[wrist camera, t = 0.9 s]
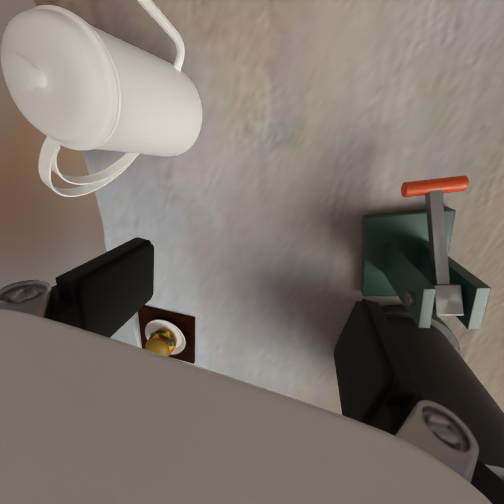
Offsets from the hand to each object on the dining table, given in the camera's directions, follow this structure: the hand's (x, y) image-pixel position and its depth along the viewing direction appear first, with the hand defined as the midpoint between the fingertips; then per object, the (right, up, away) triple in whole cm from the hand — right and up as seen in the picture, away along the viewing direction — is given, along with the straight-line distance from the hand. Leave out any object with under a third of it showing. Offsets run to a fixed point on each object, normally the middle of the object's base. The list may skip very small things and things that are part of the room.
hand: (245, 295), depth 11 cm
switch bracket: (+21, +2, +22) cm, 31 cm away
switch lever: (+19, +3, +14) cm, 23 cm away
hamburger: (-17, -15, +38) cm, 45 cm away
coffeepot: (-11, +21, +21) cm, 32 cm away
